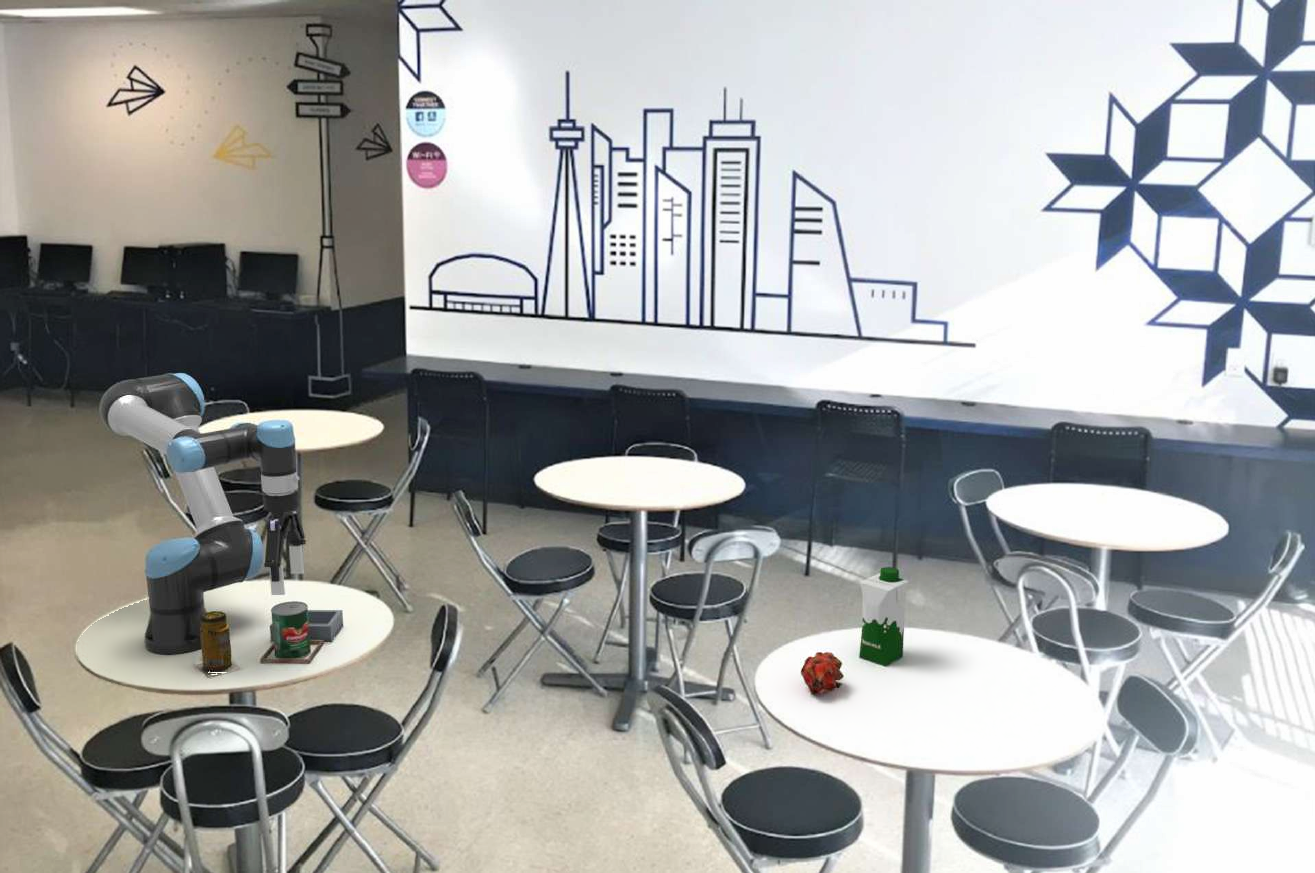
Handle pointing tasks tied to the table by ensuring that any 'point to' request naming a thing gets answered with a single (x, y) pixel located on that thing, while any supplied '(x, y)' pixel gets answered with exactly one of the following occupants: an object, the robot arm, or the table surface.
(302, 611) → the canned tomato
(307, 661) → the wooden picture frame
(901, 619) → the milk carton
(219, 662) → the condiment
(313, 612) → the bin
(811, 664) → the dragon fruit
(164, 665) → the table surface
